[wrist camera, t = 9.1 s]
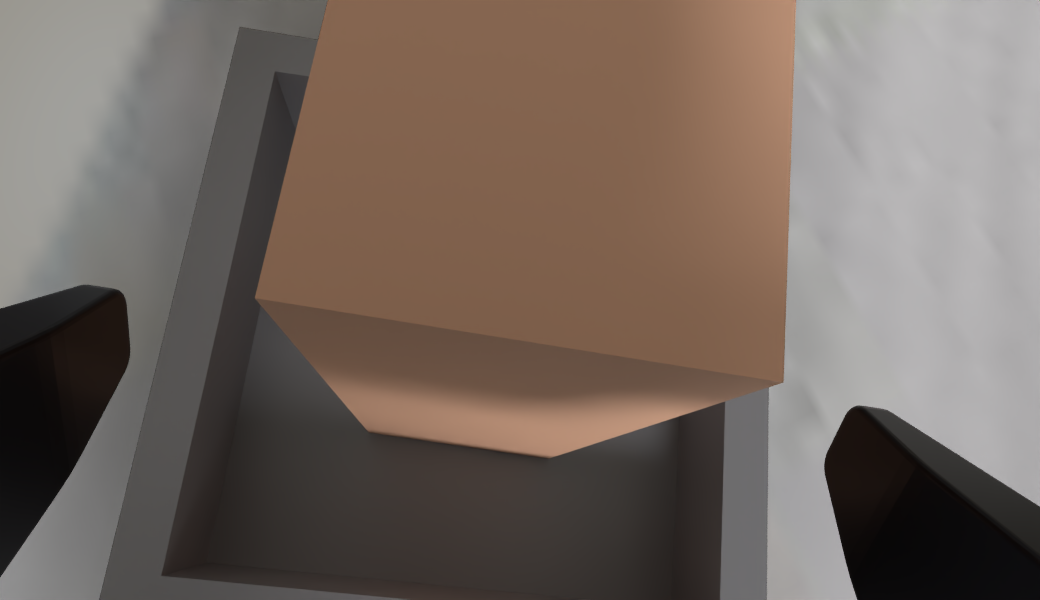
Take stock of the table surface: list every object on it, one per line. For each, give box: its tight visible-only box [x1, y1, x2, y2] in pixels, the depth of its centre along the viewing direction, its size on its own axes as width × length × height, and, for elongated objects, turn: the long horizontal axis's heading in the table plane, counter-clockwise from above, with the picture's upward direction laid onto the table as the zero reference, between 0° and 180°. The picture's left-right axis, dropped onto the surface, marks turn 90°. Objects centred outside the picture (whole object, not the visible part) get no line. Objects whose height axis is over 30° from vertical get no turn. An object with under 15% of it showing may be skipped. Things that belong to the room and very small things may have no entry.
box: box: [99, 27, 769, 600], centre depth 18 cm, size 13×13×4 cm
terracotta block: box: [255, 0, 796, 459], centre depth 13 cm, size 4×4×12 cm
